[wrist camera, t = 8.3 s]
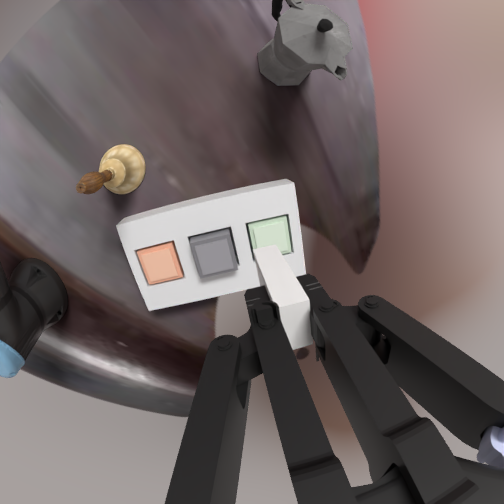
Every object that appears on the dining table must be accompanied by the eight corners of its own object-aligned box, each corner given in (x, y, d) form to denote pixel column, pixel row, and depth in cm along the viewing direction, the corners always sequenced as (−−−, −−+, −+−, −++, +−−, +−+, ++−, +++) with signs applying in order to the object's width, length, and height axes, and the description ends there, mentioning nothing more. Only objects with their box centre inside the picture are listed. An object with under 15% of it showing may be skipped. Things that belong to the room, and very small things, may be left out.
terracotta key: (152, 276, 46) (148, 285, 43) (141, 245, 43) (136, 252, 40) (184, 268, 46) (182, 278, 43) (174, 236, 44) (171, 244, 41)
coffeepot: (326, 85, 39) (386, 64, 22) (279, 106, 39) (322, 87, 23) (281, 15, 32) (318, -37, 16) (232, 32, 33) (247, -22, 17)
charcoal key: (200, 270, 44) (200, 279, 41) (190, 236, 42) (189, 244, 39) (236, 261, 45) (238, 270, 42) (228, 227, 42) (230, 234, 39)
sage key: (252, 253, 47) (255, 261, 44) (245, 219, 44) (248, 225, 41) (286, 245, 47) (292, 252, 44) (281, 211, 45) (287, 217, 42)
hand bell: (154, 178, 41) (125, 199, 26) (113, 202, 41) (72, 233, 27) (132, 135, 38) (93, 133, 23) (92, 161, 38) (41, 174, 23)
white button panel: (153, 297, 49) (149, 310, 45) (124, 217, 43) (115, 225, 38) (298, 263, 51) (305, 275, 47) (286, 178, 44) (294, 182, 40)
